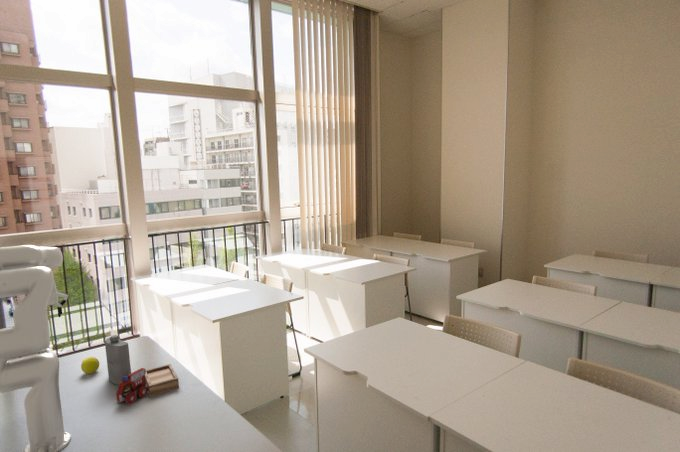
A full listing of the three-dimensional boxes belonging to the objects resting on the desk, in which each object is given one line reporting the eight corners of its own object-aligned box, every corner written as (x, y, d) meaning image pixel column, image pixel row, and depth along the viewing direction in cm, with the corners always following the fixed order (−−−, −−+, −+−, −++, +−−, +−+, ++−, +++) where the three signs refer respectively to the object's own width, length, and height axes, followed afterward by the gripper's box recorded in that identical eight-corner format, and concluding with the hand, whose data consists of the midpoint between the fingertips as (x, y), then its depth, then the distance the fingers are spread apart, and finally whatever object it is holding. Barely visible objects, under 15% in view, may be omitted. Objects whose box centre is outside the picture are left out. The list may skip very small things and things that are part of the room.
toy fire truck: (112, 403, 163) (109, 378, 162) (140, 389, 174) (138, 365, 172) (123, 408, 160) (121, 382, 158) (152, 392, 170) (149, 368, 169)
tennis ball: (80, 372, 190) (78, 358, 189) (97, 367, 195) (96, 353, 194) (84, 377, 185) (82, 362, 184) (101, 372, 190) (100, 357, 189)
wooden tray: (179, 388, 173) (178, 378, 173) (150, 396, 167) (149, 386, 167) (171, 373, 187) (170, 363, 186) (144, 380, 181) (143, 370, 180)
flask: (105, 378, 184) (100, 334, 182) (118, 372, 189) (114, 330, 186) (119, 388, 175) (115, 342, 172) (134, 382, 179) (129, 337, 177)
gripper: (12, 283, 163) (18, 326, 165) (65, 276, 172) (70, 316, 174) (14, 279, 169) (20, 320, 171) (65, 273, 178) (70, 312, 181)
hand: (45, 318), depth 173 cm, fingers open, 9 cm apart
